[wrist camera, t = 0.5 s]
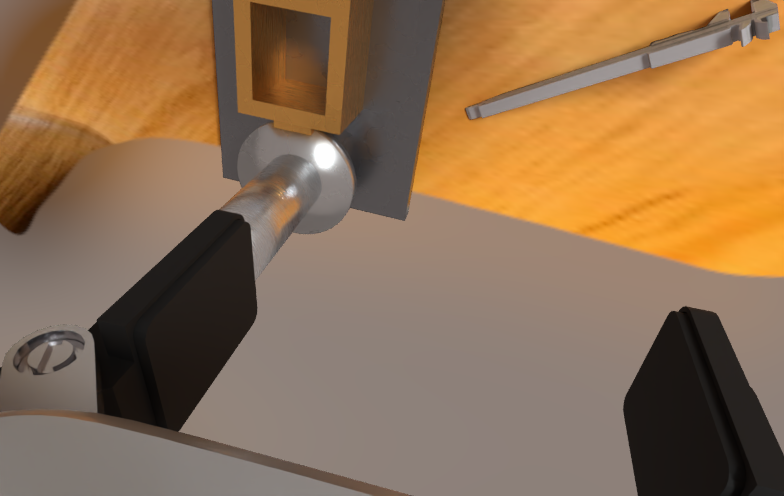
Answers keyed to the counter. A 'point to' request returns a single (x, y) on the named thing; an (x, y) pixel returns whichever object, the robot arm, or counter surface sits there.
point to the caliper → (644, 57)
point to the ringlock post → (321, 109)
